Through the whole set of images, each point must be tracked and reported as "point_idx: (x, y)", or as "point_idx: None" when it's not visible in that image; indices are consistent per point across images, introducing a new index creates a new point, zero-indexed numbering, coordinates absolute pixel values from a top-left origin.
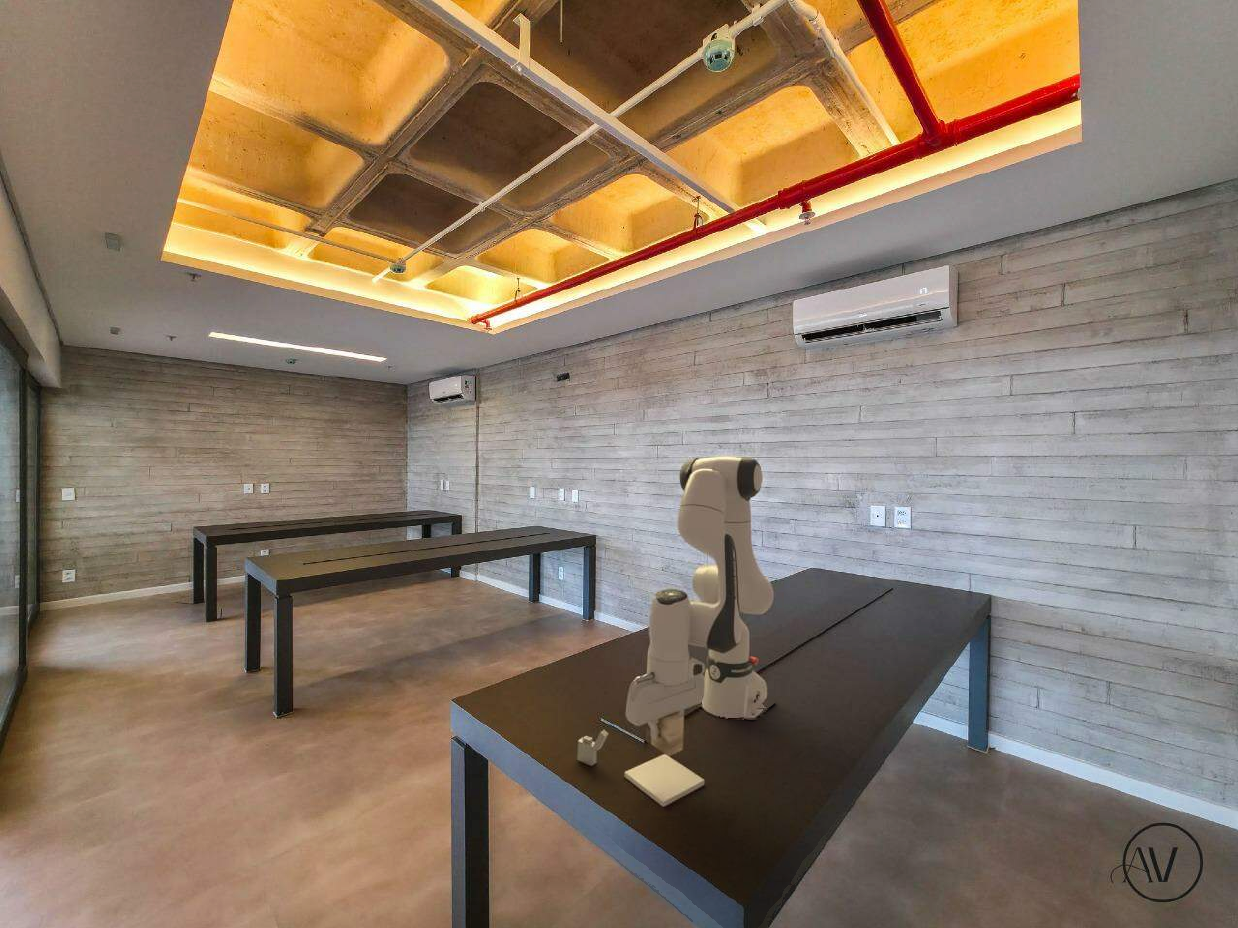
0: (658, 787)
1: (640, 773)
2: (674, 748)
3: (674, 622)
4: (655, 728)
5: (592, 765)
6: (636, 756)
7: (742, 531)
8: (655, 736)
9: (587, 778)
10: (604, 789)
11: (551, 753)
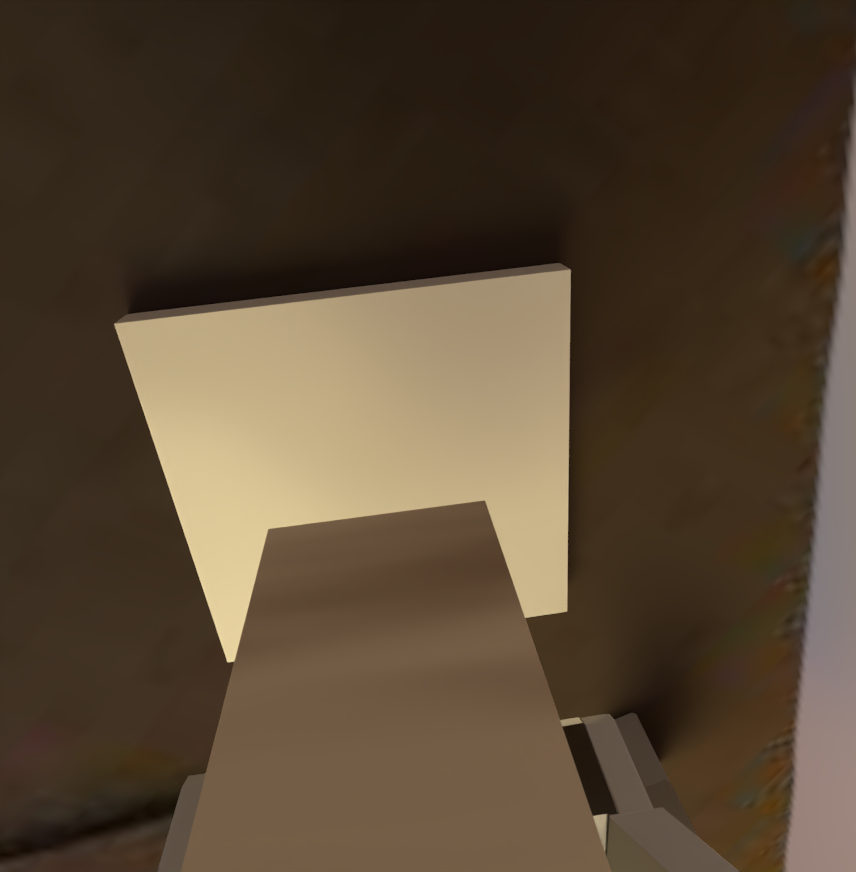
0: (493, 410)
1: None
2: (405, 545)
3: None
4: (708, 852)
5: (632, 713)
6: None
7: None
8: (617, 741)
9: (721, 645)
10: (719, 548)
11: (716, 825)
